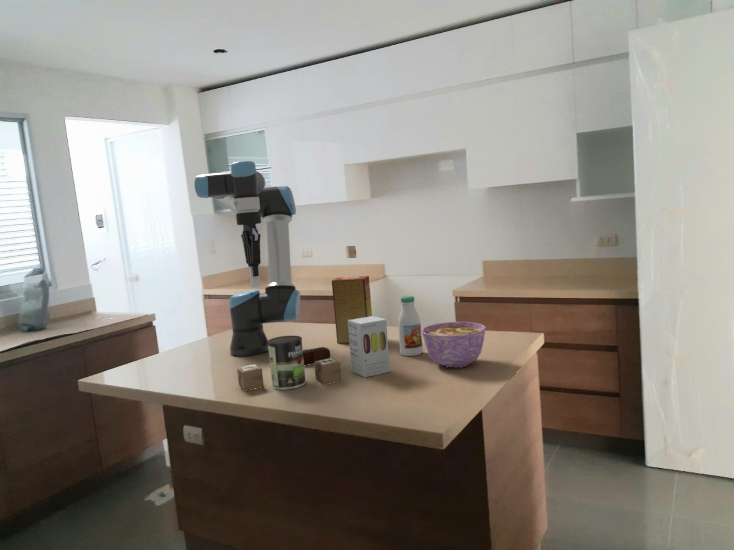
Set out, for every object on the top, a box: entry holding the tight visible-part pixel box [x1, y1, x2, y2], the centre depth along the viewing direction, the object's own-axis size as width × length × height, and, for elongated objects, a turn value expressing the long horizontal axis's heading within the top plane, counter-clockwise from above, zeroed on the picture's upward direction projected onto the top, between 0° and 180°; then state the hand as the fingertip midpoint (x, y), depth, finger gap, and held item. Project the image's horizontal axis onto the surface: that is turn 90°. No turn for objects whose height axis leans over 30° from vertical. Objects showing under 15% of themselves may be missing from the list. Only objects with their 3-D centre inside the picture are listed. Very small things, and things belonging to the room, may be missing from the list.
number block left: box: [236, 363, 265, 392], centre depth 169 cm, size 6×6×6 cm
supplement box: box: [348, 315, 391, 379], centre depth 174 cm, size 10×9×17 cm
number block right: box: [313, 357, 343, 386], centre depth 169 cm, size 6×6×6 cm
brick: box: [302, 346, 331, 366], centre depth 192 cm, size 11×4×5 cm, turn 118°
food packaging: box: [331, 275, 373, 344], centre depth 218 cm, size 13×9×25 cm
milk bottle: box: [397, 295, 424, 357], centre depth 191 cm, size 8×8×20 cm
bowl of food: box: [421, 321, 487, 368], centre depth 175 cm, size 20×20×12 cm
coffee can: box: [267, 335, 307, 391], centre depth 168 cm, size 10×10×14 cm
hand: (255, 286), depth 176 cm, fingers closed
